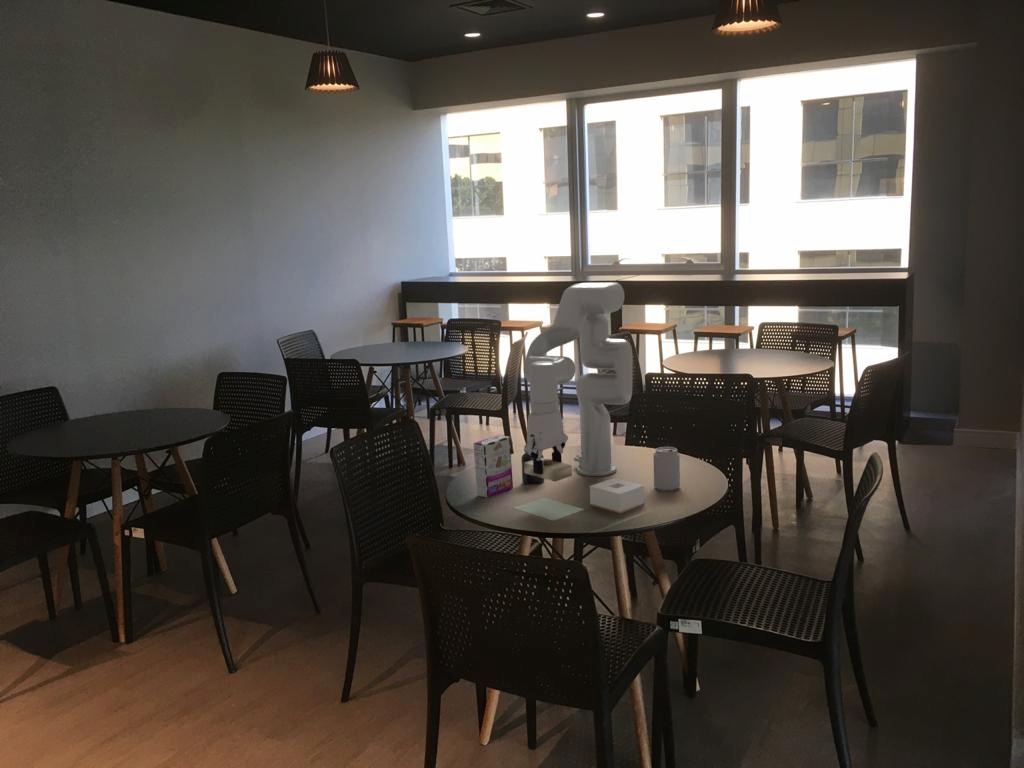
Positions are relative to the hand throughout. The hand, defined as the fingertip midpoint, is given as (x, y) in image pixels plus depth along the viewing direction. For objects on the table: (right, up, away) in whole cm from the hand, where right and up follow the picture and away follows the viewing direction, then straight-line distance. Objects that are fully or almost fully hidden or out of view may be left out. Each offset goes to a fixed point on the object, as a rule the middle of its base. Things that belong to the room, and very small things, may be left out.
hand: (547, 469), depth 231 cm
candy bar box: (-15, -9, +20) cm, 26 cm away
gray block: (+19, -10, +2) cm, 22 cm away
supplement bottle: (-3, -7, +28) cm, 29 cm away
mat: (0, -12, +1) cm, 12 cm away
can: (+36, -7, +17) cm, 40 cm away
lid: (0, -1, 0) cm, 1 cm away
